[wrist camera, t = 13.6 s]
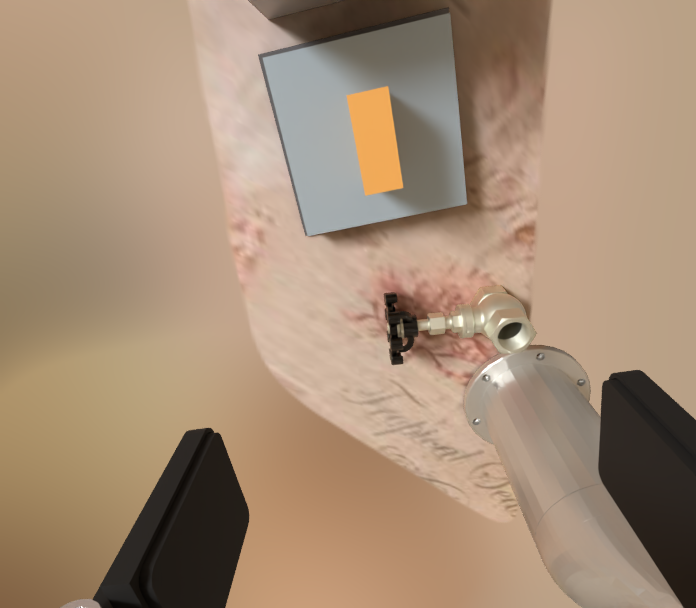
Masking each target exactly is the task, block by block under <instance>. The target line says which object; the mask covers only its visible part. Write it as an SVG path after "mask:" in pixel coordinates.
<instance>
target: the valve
mask: <svg viewBox="0 0 696 608" xmlns="http://www.w3.org/2000/svg"><path fill="white" fill-rule="evenodd" d="M384 302H385V305H386V308H385V318H386V320H387V329H388V331H387V338H388V342H389V343H390V349H389V354H390V360H391V364H392V365H398V364H403V356H401V352H406V351H408V350H410V349H411V347H412V346H413V343H414V337H418V331H424V330H428V331H429V334H430V335H437V334H445V329H451V331H452V332H453V333H458V335H459V337H460V338H469V337H473V335H474V333H482V334H483V335H484V336H486V337H487V338H488V339H490V340H491V341H492V343H493V344H494V346H495V347H496V348H497V350H498V351H499V353H500V354H513V353H519V352H523V351H524V350H525V349H526V348H527V347H528V346H529V345H530V344H531V342H532V340H533V339H534V337H535V335H536V331H535V329H534V328H533V326H532V325H531V323H530V321H529V320H528V318H527V315H526V311H525V309H524V307H523V305H522V304H521V302H520V301H519V300H517V299H516V298H515V297H513V296H511V295H508V294H507V292H506V291H505V289H504V288H503V287H502V286H501V285H495V286H485V287H480V288H479V289H478V291H477V293H476V294H475V296H474V298H473V299H472V301H471V302H470V305H469V304H459V305H456V308H455V311H451V312H450V314H449V316H444V315H443V313H442V312H439V313H429V314H428V315H427V319H421V320H417V317H416V315H411V314H410V313H409V312H406V311H396V309H395V307H394V303H396V302H397V294H396V293H395V292H392V293H384ZM400 336H401V337H400ZM402 338H407V340H408V342H407V344H406V345H405V346H403V342H402Z"/></svg>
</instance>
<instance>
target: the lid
mask: <svg viewBox="0 0 696 608" xmlns="http://www.w3.org/2000/svg"><path fill="white" fill-rule="evenodd" d="M263 62H264V66H265V70H266V74H267V78H268V82H269V86H270V90H271V94H272V97H273V101H274V105H275V109H276V113H277V117H278V121H279V125H280V129H281V133H282V137H283V141H284V145H285V149H286V153H287V157H288V161H289V165H290V169H291V173H292V177H293V181H294V185H295V188H296V192H297V196H298V200H299V204H300V208H301V212H302V216H303V220H304V224H305V228H306V232H307V236H311V235H316V234H321V233H326V232H331V231H336V230H341V229H346V228H351V227H356V226H361V225H366V224H371V223H376V222H381V221H386V220H391V219H396V218H401V217H406V216H411V215H416V214H421V213H426V212H431V211H436V210H441V209H446V208H451V207H456V206H461V205H466V204H467V196H466V185H465V174H464V163H463V151H462V140H461V129H460V117H459V106H458V95H457V83H456V72H455V61H454V50H453V38H452V27H451V16H450V13H447V14H443V15H439V16H435V17H431V18H427V19H422V20H418V21H414V22H410V23H406V24H402V25H397V26H393V27H389V28H385V29H381V30H377V31H372V32H368V33H364V34H360V35H356V36H351V37H347V38H343V39H339V40H335V41H331V42H326V43H322V44H318V45H314V46H310V47H306V48H301V49H297V50H293V51H289V52H285V53H281V54H276V55H272V56H268V57H264V58H263Z"/></svg>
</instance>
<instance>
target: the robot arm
mask: <svg viewBox="0 0 696 608" xmlns="http://www.w3.org/2000/svg"><path fill="white" fill-rule="evenodd" d="M589 400H590V382H589V379H588V376H587V374H586V372H585V371H584V369H583V368H582V367H581V365H580V364H579V363H578V362H577V361H576V360H575V359H574V358H573V357H572V356H571V355H569V354H567V353H566V352H564V351H562V350H560V349H557V348H554V347H550V346H544V345H529V346H528V347H527V348H526V349H525V350H524V351H523V352H519V353H513V354H498V355H496V356H494V357H492V358H491V359H490V360H488V361H487V362H485V363H484V364H483V365H482V366H481V367H480V368H479V369H478V370H477V371H476V372H475V373H474V375H473V376H472V378H471V379H470V381H469V383H468V385H467V387H466V390H465V394H464V411H465V414H466V418H467V420H468V423H469V425H470V426H471V428H472V429H473V430H474V432H475V433H476V434H477V435H478V436H479V437H481V438H482V439H483V440H485V441H487V442H489V443H490V444H493V445H494V446H495V448H496V451H497V453H498V455H499V458H500V460H501V463H502V465H503V467H504V470H505V472H506V475H507V477H508V480H509V482H510V484H511V487H512V489H513V492H514V494H515V497H516V499H517V501H518V504H519V506H520V509H521V511H522V513H523V516H524V518H525V521H526V523H527V526H528V528H529V530H530V533H531V535H532V537H533V540H534V542H535V544H536V547H537V549H538V551H539V554H540V556H541V559H542V561H543V563H544V565H545V567H546V569H547V571H548V573H549V574H550V576H551V577H552V579H553V580H554V582H555V583H556V584H557V585H558V586H559V587H560V589H561V590H562V591H563V592H564V593H565V594H566V595H567V596H568V597H570V598H571V599H572V600H573V601H574V602H575V603H577V604H578V605H579V606H581V607H582V608H696V420H695V419H694V418H693V417H692V416H691V415H690V414H689V413H687V412H686V411H685V410H684V409H683V408H682V407H681V406H680V405H679V404H677V402H675V401H674V400H673V399H672V398H671V397H670V396H669V395H668V394H667V393H666V392H664V391H663V390H662V389H661V388H660V387H659V386H658V385H657V384H656V383H655V382H654V381H652V380H651V379H650V378H649V377H648V376H647V375H646V374H645V373H644V372H642V371H640V370H633V371H626V372H618V373H613V374H611V376H610V377H609V380H607V381H604V382H603V386H602V402H601V417H600V416H599V415H598V413H597V412H596V411H595V409H594V408H593V407H592V406H591V405H590V403H589ZM248 523H249V510H248V506H247V504H246V501H245V498H244V496H243V493H242V490H241V488H240V485H239V483H238V480H237V477H236V474H235V472H234V469H233V466H232V464H231V461H230V458H229V456H228V453H227V450H226V448H225V445H224V442H223V440H222V437H221V435H220V434H219V433H214V431H213V430H212V429H211V428H204V429H196V430H189V431H187V432H186V433H185V434H184V436H183V438H182V440H181V441H180V443H179V445H178V447H177V448H176V450H175V452H174V454H173V456H172V458H171V459H170V461H169V463H168V465H167V467H166V468H165V470H164V472H163V474H162V476H161V477H160V479H159V481H158V483H157V485H156V486H155V488H154V490H153V492H152V494H151V495H150V497H149V499H148V501H147V502H146V504H145V506H144V508H143V510H142V511H141V513H140V515H139V517H138V519H137V521H136V522H135V524H134V526H133V528H132V529H131V531H130V533H129V535H128V537H127V538H126V540H125V542H124V544H123V546H122V548H121V549H120V551H119V553H118V555H117V556H116V558H115V560H114V562H113V564H112V565H111V567H110V569H109V571H108V573H107V575H106V576H105V578H104V580H103V582H102V583H101V585H100V587H99V589H98V591H97V593H96V594H95V596H94V598H93V600H92V599H79V600H76V601H73V602H70V603H68V604H66V605H64V606H62V607H60V608H225V606H226V603H227V599H228V595H229V592H230V588H231V585H232V581H233V578H234V574H235V570H236V567H237V563H238V560H239V556H240V552H241V549H242V545H243V542H244V538H245V534H246V531H247V527H248Z"/></svg>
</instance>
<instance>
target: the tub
mask: <svg viewBox="0 0 696 608" xmlns="http://www.w3.org/2000/svg"><path fill="white" fill-rule="evenodd" d="M248 1H249V2H250V3H251V4H252V5H254V6H255V7H256V8H257V9H258V10H259V11H260V12H261V13H262V14H263V15H264V16H265V17H266V18H267V19H268V20H269V19H273V18H277V17H281V16H285V15H289V14H293V13H297V12H300V11H304V10H308V9H312V8H316V7H320V6H324V5H328V4H332V3H336V2H340V1H343V0H248Z"/></svg>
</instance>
